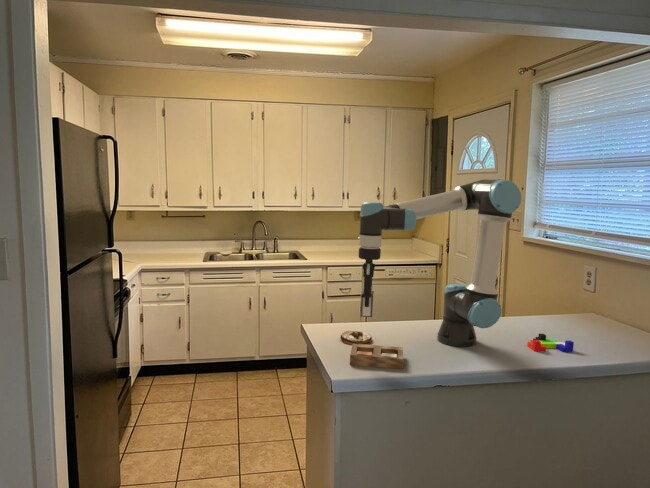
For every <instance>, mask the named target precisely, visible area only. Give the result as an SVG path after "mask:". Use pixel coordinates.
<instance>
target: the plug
mask: <svg viewBox="0 0 650 488" xmlns="http://www.w3.org/2000/svg"><path fill="white" fill-rule="evenodd" d="M372 291H373V286H372V287H371V312H370V316H362V313H363V297H361V301H360V317H362V318H364V317H365V318H373V314H374V313H373V312H374V311H373V310H374V294H375V293H374V292H372ZM363 293H364V290H363V291H361V295H363Z"/></svg>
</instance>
